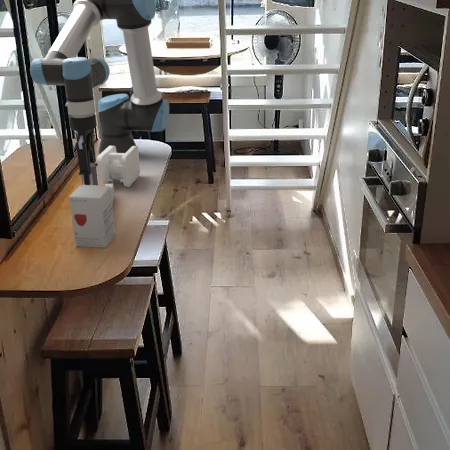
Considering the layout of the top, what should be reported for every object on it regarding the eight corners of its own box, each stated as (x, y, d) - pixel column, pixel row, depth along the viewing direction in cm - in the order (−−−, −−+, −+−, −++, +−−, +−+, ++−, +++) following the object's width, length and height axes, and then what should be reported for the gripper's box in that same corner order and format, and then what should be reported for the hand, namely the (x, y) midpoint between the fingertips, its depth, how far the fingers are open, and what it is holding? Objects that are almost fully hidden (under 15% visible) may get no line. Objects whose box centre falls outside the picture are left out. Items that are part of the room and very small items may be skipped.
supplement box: (74, 246, 167) (67, 196, 160) (85, 232, 175) (79, 184, 168) (106, 248, 165) (100, 197, 159) (116, 234, 173) (111, 185, 167)
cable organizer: (127, 191, 203) (124, 158, 198) (97, 189, 205) (94, 157, 200) (141, 175, 216) (138, 144, 211) (112, 174, 218) (109, 143, 213)
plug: (96, 193, 185) (93, 161, 181) (101, 198, 182) (98, 165, 177) (82, 196, 183) (77, 163, 179) (86, 201, 180) (82, 168, 175)
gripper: (75, 107, 180) (84, 181, 190) (61, 123, 164) (72, 202, 174) (100, 106, 180) (108, 180, 190) (89, 122, 164) (98, 202, 174)
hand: (91, 191), depth 182 cm, fingers closed on plug, 4 cm apart
